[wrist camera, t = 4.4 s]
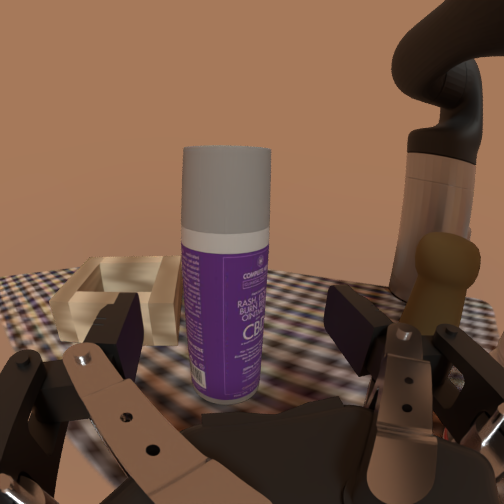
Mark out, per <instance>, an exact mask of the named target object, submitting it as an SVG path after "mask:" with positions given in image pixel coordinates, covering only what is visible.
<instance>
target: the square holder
mask: <svg viewBox="0 0 504 504" xmlns="http://www.w3.org/2000/svg"><path fill="white" fill-rule="evenodd" d="M182 290H183V286H182V268H181V256H147V257H146V256H142V257H91V258H89V259H88V260H87V261H86V262H85V263H84V264H83V265H82V266H81V267H80V268H79V269H78V270H77V271H76V272H75V273H74V274H73V275H72V276H71V277H70V278H69V280H68V281H67V282H66V283H65V284H64V285H63V286H62V287H61V288H60V289H59V290H58V292H57V293H56V294H55V295H54V296H53V297H52V298H51V300H50V301H49V303H50V307H51V310H52V314H53V317H54V321H55V324H56V327H57V330H58V334H59V337H60V340H61V341H67V342H79V343H83V341H84V339H85V337H86V335H87V333H88V331H89V330H90V328H91V326H92V325H93V322H94V320H95V319H96V316H97V315H98V313H99V311H100V310H101V309H102V308H103V307H105V306H106V305H107V304H114V302H115V300H116V298H117V296H118V294H119V293H120V292H137V293H138V295H139V299H140V306H141V313H142V319H143V325H144V341H143V345H145V346H178V337H179V324H180V312H181V301H182Z"/></svg>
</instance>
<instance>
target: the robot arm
mask: <svg viewBox="0 0 504 504" xmlns="http://www.w3.org/2000/svg"><path fill="white" fill-rule="evenodd" d="M490 56H504V0H445V1H444V2H443V3H442V4H441V5H439V6H438V7H437V8H436V9H435V10H433V11H432V12H431V13H430V14H429V15H427V16H426V17H425V18H424V19H423V20H421V21H420V22H419V23H418V24H416V25H415V26H414V27H413V28H412V29H411V30H410V31H408V32H407V34H406V35H405V36H404V37H403V38H402V40H401V41H400V42H399V44H398V46H397V48H396V50H395V52H394V55H393V59H392V68H391V70H392V76H393V80H394V82H395V84H396V85H397V87H398V88H399V89H400V90H401V91H402V92H403V93H404V94H406V95H408V96H409V97H411V98H413V99H416V100H419V101H422V102H425V103H428V104H432V105H435V106H438V107H440V120H439V123H438V124H437V125H436V126H434V127H430V128H422V129H417V130H413V131H411V132H410V134H409V136H408V143H407V144H408V145H407V152H408V153H407V162H406V178H405V188H404V198H403V206H402V215H401V221H400V228H399V235H398V241H397V247H396V252H395V258H394V263H393V268H392V274H391V278H390V283H389V289H390V290H391V292H392V293H394V294H395V295H396V296H397V297H399V298H400V299H402V300H404V301H406V302H408V299H409V297H410V294H411V292H412V289H413V287H414V284H415V282H416V279H417V276H418V273H417V271H416V268H415V252H416V248H417V245H418V243H419V241H420V240H421V238H422V237H423V236H424V235H426V234H428V233H430V232H445V233H451V234H455V235H458V236H461V237H463V238H465V239H467V240H469V241H470V236H471V229H470V227H469V223H470V217H471V210H472V203H473V194H474V184H475V172H476V166H475V165H476V158H477V152H478V149H479V146H480V143H481V139H482V130H483V129H482V128H483V95H482V94H483V93H482V81H481V76H480V71H479V68H478V65H477V63H476V62H475V60H474V58H479V57H490ZM324 327H325V329H326V331H327V333H328V334H329V335H330V337H331V338H332V340H333V341H334V342H335V344H336V345H337V347H338V348H339V350H340V351H341V352H342V354H343V355H344V357H345V358H346V359H347V361H348V362H349V364H350V365H351V367H352V368H353V369H354V371H355V372H356V374H357V375H358V377H361V376H365V375H369V374H371V376H372V377H371V379H370V382H369V386H368V390H367V394H366V398H365V402H364V406H363V407H361V406H355V405H343V403H342V402H341V400H340V398H339V396H337V397H332V398H328V399H323V400H318V401H313V402H308V403H305V404H303V405H300V406H298V407H295V408H293V409H290V410H287V411H285V412H282V413H279V414H257V413H245V412H227V413H210V414H201V415H202V424H199V425H195V426H192V427H189V428H187V429H185V430H182V431H180V432H178V431H177V430H176V429H175V428H174V427H173V426H172V424H171V423H170V422H169V421H168V420H167V419H166V418H165V417H164V416H163V415H162V414H161V413H160V412H159V411H158V410H157V409H156V408H155V406H154V405H153V404H152V403H151V402H150V401H149V400H148V399H147V398H146V396H145V395H144V394H143V393H142V392H141V391H140V389H139V388H138V387H137V386H136V385H135V383H134V382H135V377H136V372H137V367H138V363H139V358H140V354H141V350H142V345H143V341H144V325H143V319H142V313H141V306H140V299H139V295H138V293H137V292H120V293H119V294H118V296H117V298H116V300H115V302H114V304H107V305H106V306H105V307H103V308H102V309H101V310H100V311H99V313H98V315H97V316H96V319H95V320H94V322H93V325H92V326H91V328H90V330H89V331H88V333H87V335H86V337H85V339H84V341H83V343H79V344H75V345H73V346H71V347H70V348H68V349H67V350H66V351H65V353H64V354H63V359H62V360H56V361H48V362H43V361H42V358H41V356H40V354H39V353H38V352H36V351H34V350H22V351H19V352H17V353H15V354H14V355H12V356H11V357H10V358H9V360H8V361H7V363H6V365H5V366H4V368H3V370H2V372H1V373H0V504H59V503H58V502H57V501H56V500H55V499H54V494H55V487H56V480H57V473H58V468H59V463H60V458H61V453H62V448H63V444H64V439H65V435H66V431H67V427H68V423H69V421H73V420H81V419H88V418H89V419H90V421H91V423H92V424H93V426H94V428H95V429H96V431H97V433H98V434H99V436H100V437H101V439H102V441H103V442H104V444H105V445H106V447H107V448H108V450H109V451H110V453H111V454H112V456H113V457H114V459H115V460H116V462H117V463H118V465H119V466H120V468H121V469H122V470H123V472H124V473H125V475H126V476H127V477H128V478H127V479H126V480H125V481H124V482H123V483H122V484H121V485H120V486H119V487H118V488H117V489H115V490H114V491H113V492H112V493H111V494H110V495H109V496H108V497H107V498H105V499H104V500H103V501H102V502H101V503H100V504H501V501H500V498H499V495H498V491H497V486H496V483H497V482H499V481H500V480H501V479H502V478H503V477H504V367H503V366H502V365H500V364H499V363H498V362H497V361H496V360H495V359H494V358H493V357H492V356H491V355H490V354H489V353H487V352H486V351H485V350H484V349H483V348H482V347H481V346H480V345H479V344H477V343H476V342H475V341H474V340H473V339H472V338H471V337H469V336H468V335H467V334H466V333H465V332H464V331H462V330H461V329H460V328H458V327H457V326H454V325H451V324H439V325H438V326H437V327H436V330H435V333H434V335H421V333H420V331H419V330H418V329H417V328H415V327H414V326H412V325H410V324H406V323H393V322H392V321H391V320H390V319H389V318H388V317H387V316H386V315H385V314H384V313H382V312H381V311H379V309H378V308H377V307H376V306H374V304H373V303H372V302H370V301H369V300H368V299H367V298H365V297H363V296H361V295H359V294H357V293H356V292H355V291H354V290H353V289H352V288H351V287H350V286H349V285H347V284H345V285H332V286H330V287H329V290H328V295H327V301H326V307H325V313H324ZM453 365H454V366H455V367H456V368H457V369H458V370H459V371H460V372H461V373H462V374H463V376H464V379H465V383H464V387H463V388H462V390H461V392H460V391H459V390H458V389H457V388H456V387H455V385H454V384H453V383H452V382H451V381H450V380H449V379H448V378H447V376H448V375H449V373H450V371H451V369H452V366H453ZM432 409H433V411H434V412H435V413H436V415H437V416H438V418H439V419H440V420H441V422H442V423H443V424H444V426H445V427H446V429H447V430H448V431H449V433H450V434H451V436H452V437H453V438H454V440H455V441H456V443H454V442H451V441H449V440H446V439H443V438H440V437H438V436H435V435H433V433H432ZM31 411H32V413H31ZM30 413H31V416H30ZM29 416H30V418H29ZM28 419H29V421H28Z"/></svg>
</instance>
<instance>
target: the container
mask: <svg viewBox="0 0 504 504" xmlns="http://www.w3.org/2000/svg"><path fill="white" fill-rule="evenodd" d="M182 172H183V173H182V209H181V249H182V271H183V289H184V303H185V316H186V328H187V339H188V349H189V358H190V367H191V375H192V382H193V387H194V389H195V391H196V392H197V394H198V395H199V396H200V397H202V398H203V399H205V400H207V401H209V402H212V403H215V404H221V405H231V404H237V403H241V402H243V401H246V400H247V399H249V398H251V397H252V396H253V395H254V394H255V393H256V391H257V389H258V387H259V380H260V369H261V356H262V343H263V329H264V315H265V300H266V285H267V270H268V253H269V221H270V181H271V149H268V148H261V147H248V146H192V147H185V148H184V150H183V171H182Z"/></svg>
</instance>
